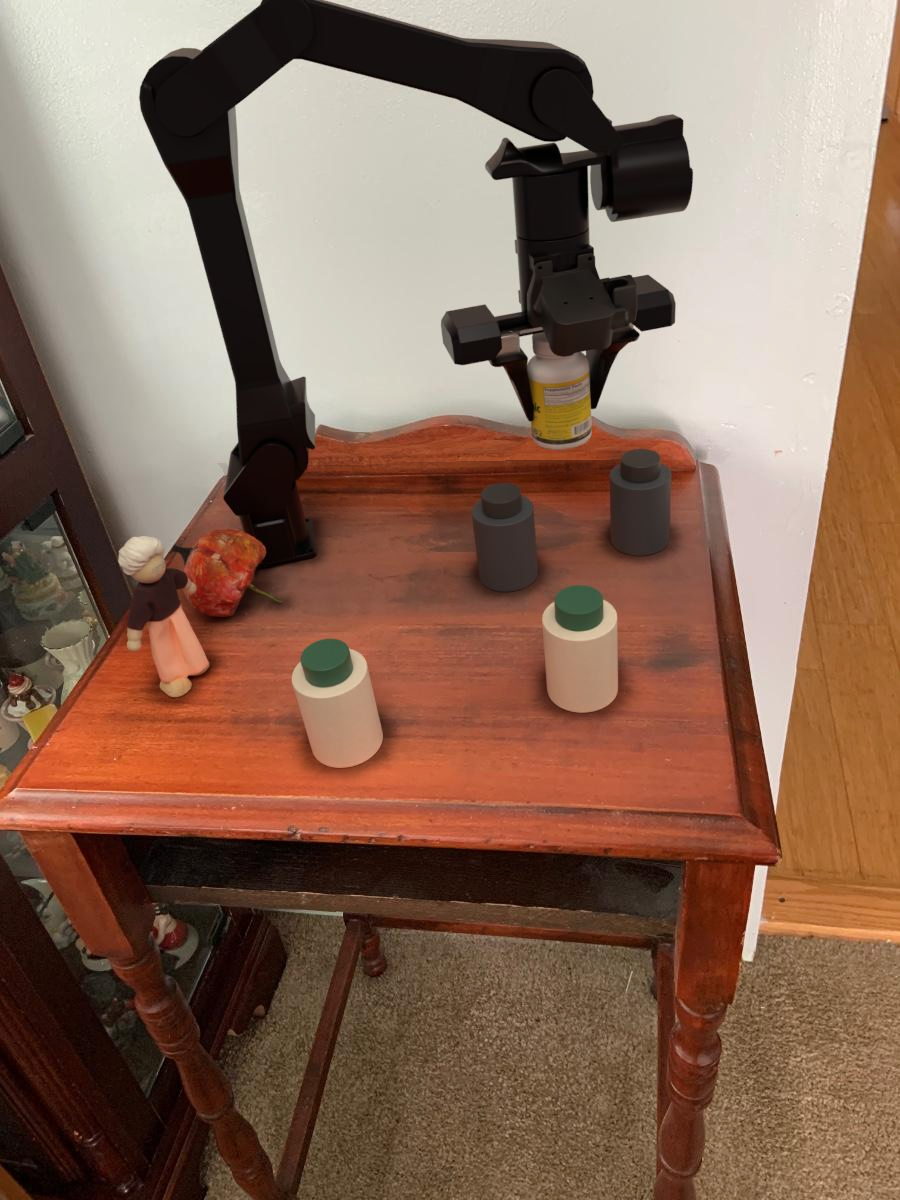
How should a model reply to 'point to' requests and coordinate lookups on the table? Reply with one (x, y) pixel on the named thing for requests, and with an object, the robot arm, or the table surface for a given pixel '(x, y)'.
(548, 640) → the cream bottle
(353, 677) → the cream bottle
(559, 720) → the table surface
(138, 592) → the grandmother figurine
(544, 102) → the robot arm
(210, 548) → the red orange flower
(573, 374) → the supplement bottle
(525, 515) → the grey bottle left
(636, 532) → the grey bottle right
